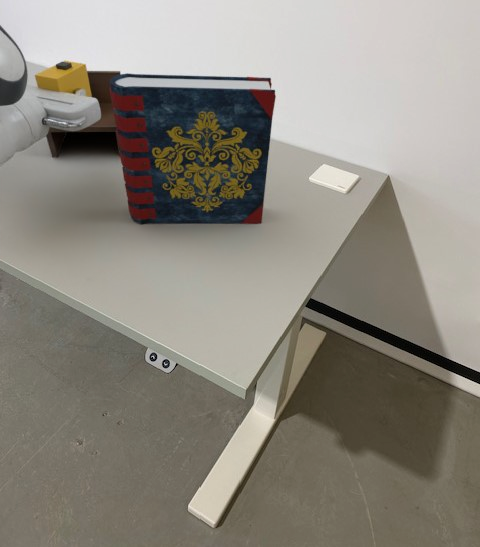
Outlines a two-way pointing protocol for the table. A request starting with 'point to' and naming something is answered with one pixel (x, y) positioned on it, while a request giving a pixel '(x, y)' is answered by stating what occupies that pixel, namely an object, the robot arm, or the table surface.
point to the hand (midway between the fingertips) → (68, 90)
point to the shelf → (101, 92)
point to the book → (193, 146)
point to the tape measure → (64, 78)
